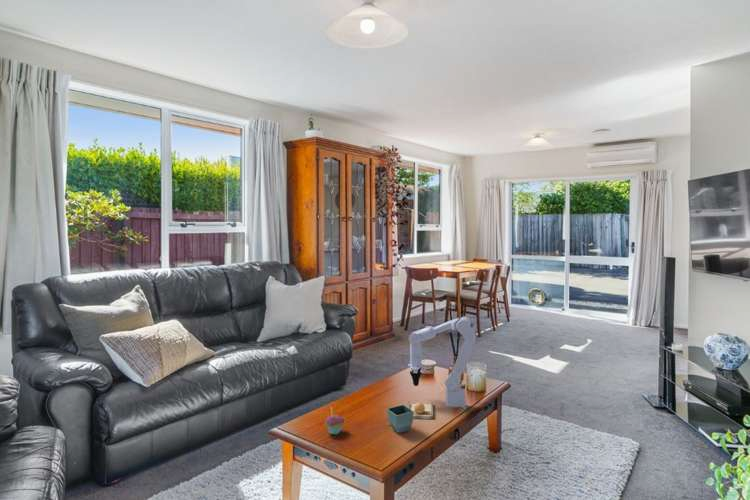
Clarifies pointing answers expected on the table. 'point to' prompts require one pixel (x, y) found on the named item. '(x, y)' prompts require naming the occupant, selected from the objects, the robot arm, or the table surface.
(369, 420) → the table surface
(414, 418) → the rails
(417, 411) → the ball
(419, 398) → the table surface
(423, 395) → the table surface
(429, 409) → the lane
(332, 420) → the cupcake
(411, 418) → the flower pot
